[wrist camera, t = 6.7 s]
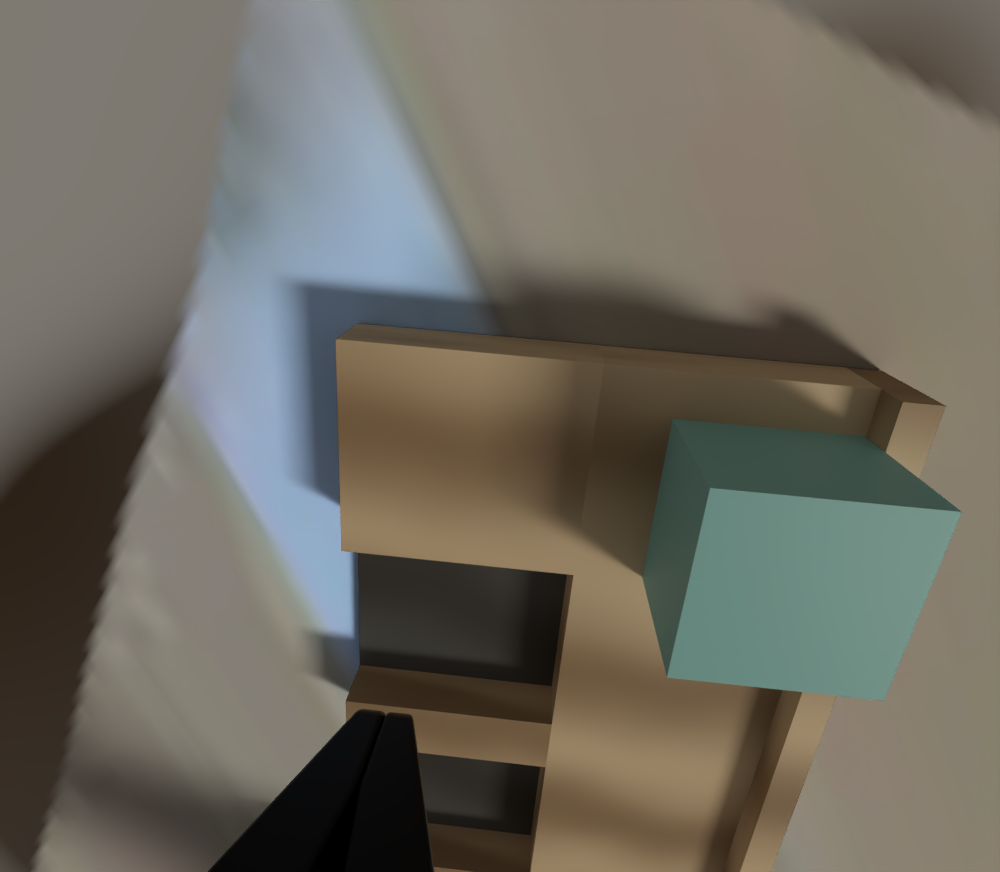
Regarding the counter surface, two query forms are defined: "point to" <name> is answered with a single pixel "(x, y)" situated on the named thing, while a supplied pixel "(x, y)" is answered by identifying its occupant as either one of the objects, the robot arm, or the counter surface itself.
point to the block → (789, 558)
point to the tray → (567, 593)
